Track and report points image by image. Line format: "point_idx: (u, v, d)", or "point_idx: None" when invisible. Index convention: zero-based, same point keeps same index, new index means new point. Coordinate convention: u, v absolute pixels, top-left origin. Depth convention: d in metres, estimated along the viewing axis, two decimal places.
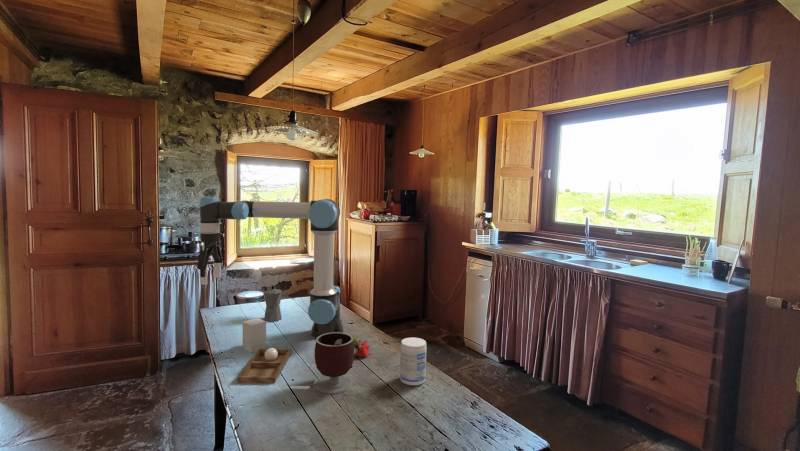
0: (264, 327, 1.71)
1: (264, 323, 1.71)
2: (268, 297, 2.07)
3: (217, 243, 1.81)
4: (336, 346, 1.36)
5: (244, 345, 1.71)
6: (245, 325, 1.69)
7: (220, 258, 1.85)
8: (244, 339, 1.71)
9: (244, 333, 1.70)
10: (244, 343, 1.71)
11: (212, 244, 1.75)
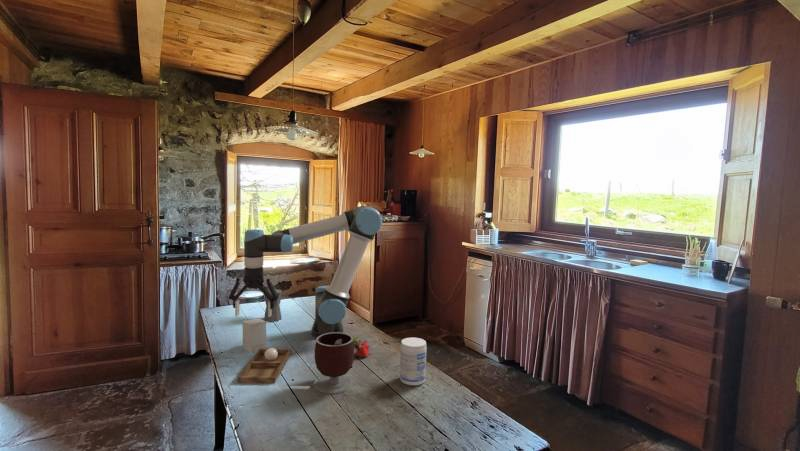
0: (264, 327, 1.71)
1: (264, 323, 1.71)
2: None
3: (266, 280, 1.69)
4: (336, 346, 1.36)
5: (244, 345, 1.71)
6: (245, 325, 1.69)
7: (273, 297, 1.70)
8: (244, 339, 1.71)
9: (244, 333, 1.70)
10: (244, 343, 1.71)
11: (252, 279, 1.69)
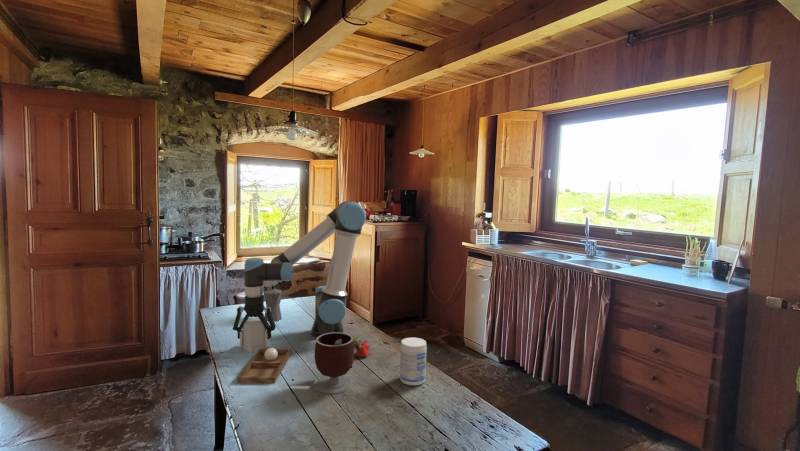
0: (264, 327, 1.71)
1: None
2: (268, 297, 2.07)
3: (267, 309, 1.70)
4: (336, 346, 1.36)
5: (244, 345, 1.71)
6: (245, 325, 1.69)
7: (270, 328, 1.71)
8: (244, 339, 1.71)
9: (244, 333, 1.70)
10: (244, 343, 1.71)
11: (252, 307, 1.70)
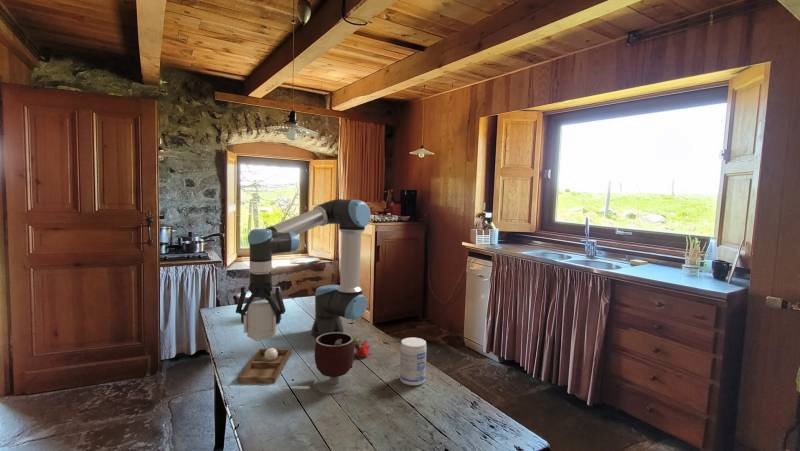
0: (272, 310, 1.46)
1: None
2: None
3: (275, 289, 1.45)
4: (336, 346, 1.36)
5: (248, 331, 1.46)
6: (250, 307, 1.44)
7: (280, 310, 1.46)
8: (248, 323, 1.46)
9: (249, 316, 1.45)
10: (249, 328, 1.46)
11: (259, 286, 1.45)
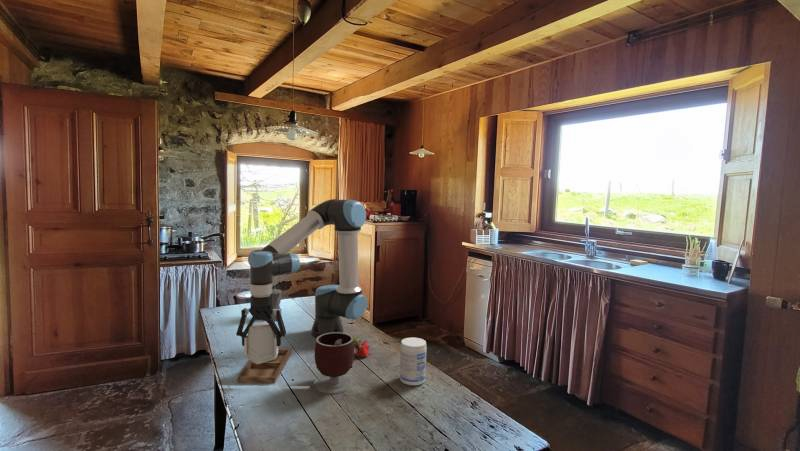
0: (273, 332, 1.47)
1: None
2: None
3: None
4: (336, 346, 1.36)
5: (249, 353, 1.46)
6: (251, 330, 1.45)
7: (280, 333, 1.46)
8: (249, 346, 1.46)
9: (249, 339, 1.46)
10: (249, 351, 1.46)
11: (259, 309, 1.45)
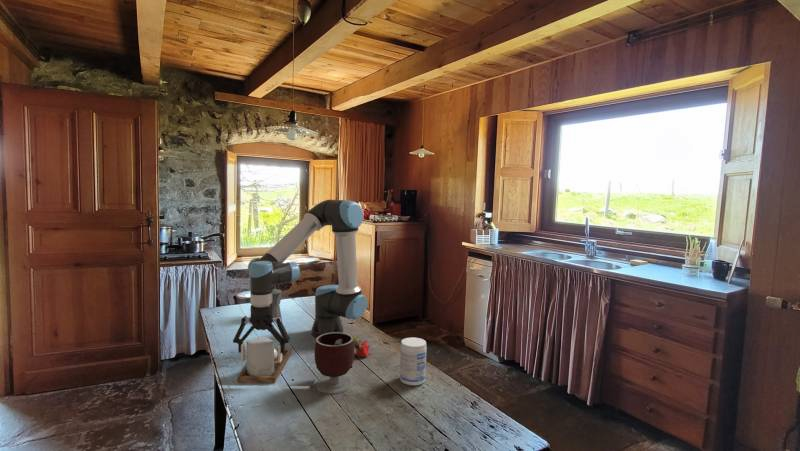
0: (272, 348, 1.47)
1: (272, 343, 1.47)
2: None
3: (276, 320, 1.46)
4: (336, 346, 1.36)
5: (248, 369, 1.47)
6: (250, 346, 1.45)
7: None
8: (248, 361, 1.47)
9: (248, 355, 1.46)
10: (248, 366, 1.47)
11: (259, 319, 1.45)
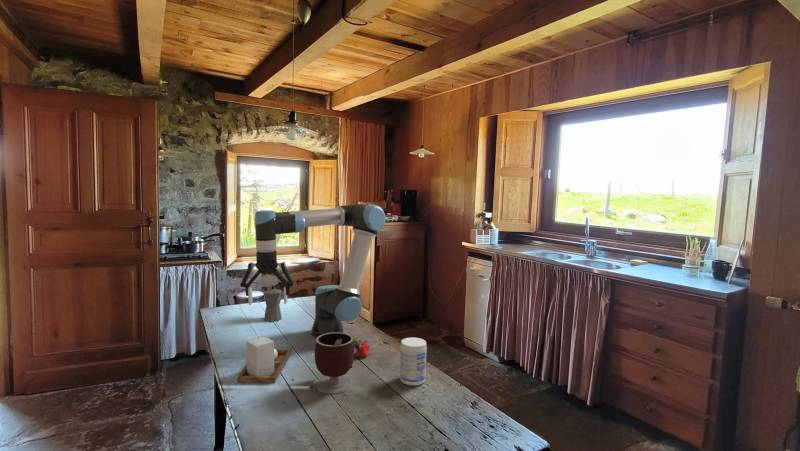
0: (272, 348, 1.47)
1: (272, 343, 1.47)
2: (268, 297, 2.07)
3: (281, 264, 1.57)
4: (336, 346, 1.36)
5: (248, 369, 1.47)
6: (250, 346, 1.45)
7: None
8: (248, 361, 1.47)
9: (248, 355, 1.46)
10: (248, 366, 1.47)
11: (265, 264, 1.57)
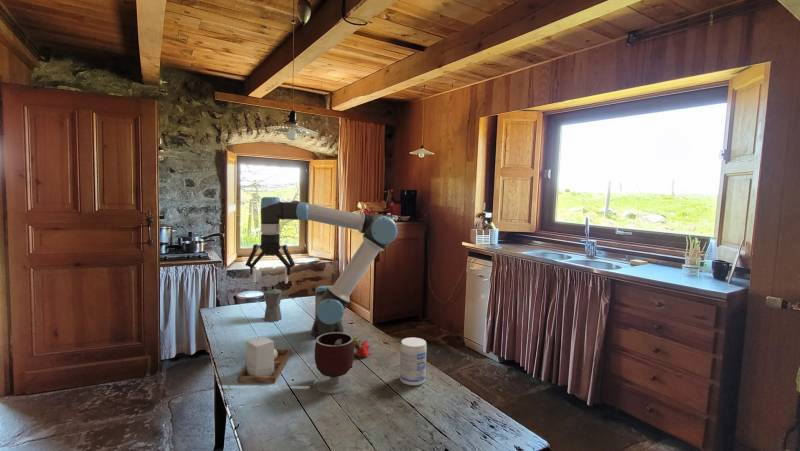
0: (272, 348, 1.47)
1: (272, 343, 1.47)
2: (268, 297, 2.07)
3: (283, 247, 1.71)
4: (336, 346, 1.36)
5: (248, 369, 1.47)
6: (250, 346, 1.45)
7: (290, 264, 1.72)
8: (248, 361, 1.47)
9: (248, 355, 1.46)
10: (248, 366, 1.47)
11: (268, 245, 1.71)
